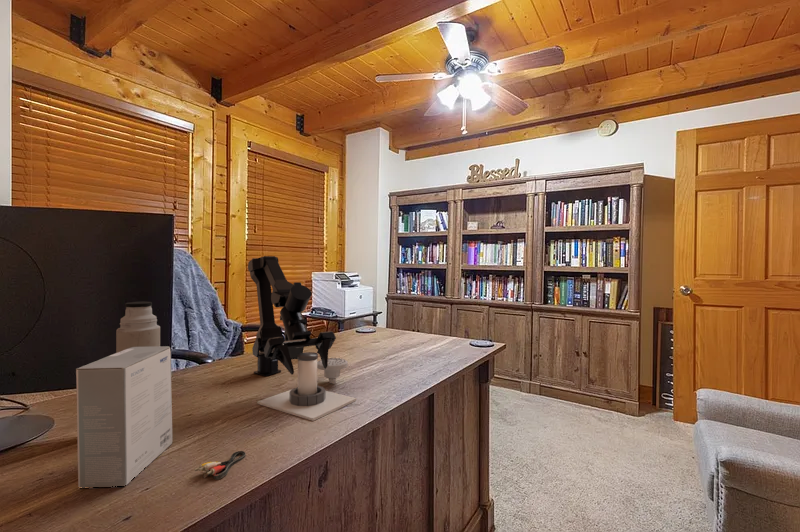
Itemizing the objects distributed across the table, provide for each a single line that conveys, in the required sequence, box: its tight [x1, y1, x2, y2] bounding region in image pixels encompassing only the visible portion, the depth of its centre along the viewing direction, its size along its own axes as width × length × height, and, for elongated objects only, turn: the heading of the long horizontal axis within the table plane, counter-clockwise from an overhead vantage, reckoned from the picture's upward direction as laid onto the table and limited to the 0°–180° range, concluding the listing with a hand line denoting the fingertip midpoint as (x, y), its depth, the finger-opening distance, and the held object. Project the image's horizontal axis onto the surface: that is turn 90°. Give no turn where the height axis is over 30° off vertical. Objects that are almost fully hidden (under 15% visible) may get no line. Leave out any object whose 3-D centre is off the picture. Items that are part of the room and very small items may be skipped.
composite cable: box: [194, 450, 247, 481], centre depth 69 cm, size 10×5×2 cm, turn 154°
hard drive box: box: [75, 345, 173, 488], centre depth 70 cm, size 16×8×20 cm, turn 5°
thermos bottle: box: [115, 301, 161, 353], centre depth 85 cm, size 8×8×28 cm
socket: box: [257, 385, 357, 422], centre depth 102 cm, size 20×16×3 cm
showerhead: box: [317, 357, 349, 384], centre depth 118 cm, size 9×7×10 cm
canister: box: [296, 351, 319, 395], centre depth 102 cm, size 5×5×12 cm
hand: (309, 370), depth 100 cm, fingers open, 9 cm apart
